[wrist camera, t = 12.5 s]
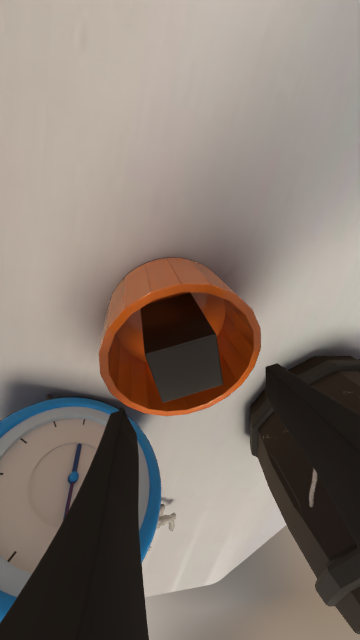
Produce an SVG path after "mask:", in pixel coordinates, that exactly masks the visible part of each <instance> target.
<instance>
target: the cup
mask: <svg viewBox="0 0 360 640" xmlns="http://www.w3.org/2000/svg"><path fill="white" fill-rule="evenodd" d="M187 293H191V294H192V296H193V297H194V299H195V301H196V302H197V304H198V306H199V307H200V309H201V310H202V312H203V314H204V315H205V317H206V319H207V320H208V322H209V323H210V325H211V327H212V328H213V330H214V332H215V333H216V335H217V342H218V349H219V356H220V363H221V370H222V377H223V385H220V386H217V387H214V388H210V389H207V390H204V391H200V392H197V393H194V394H191V395H187V396H184V397H181V398H177V399H174V400H171V401H168V402H164V403H163V402H162V400H161V397H160V395H159V392H158V389H157V387H156V384H155V381H154V379H153V376H152V374H151V371H150V368H149V366H148V363H147V360H146V358H145V353H144V343H143V332H142V321H141V310H140V309H141V308H142V307H144V306H145V305H147V304H150V303H154V302H158V301H161V300H165V299H169V298H172V297H176V296H180V295H183V294H187ZM260 348H261V334H260V326H259V324H258V321H257V319H256V317H255V315H254V312H253V310H252V309H251V308H250V307H249V306H248V305H247V304H246V303H245V302H244V301H243V300H242V299H241V298H240V297H239V296H238V295H237V294H235V293H234V292H233V291H232V290H231V289H230V288H229V287H228V286H227V285H226V284H225V283H224V282H223V281H222V280H221V279H220V278H219V277H217V276H216V275H215V274H214V273H213V272H212V271H211V270H210V269H209V268H207V267H205V266H203V265H201V264H200V263H197V262H195V261H192V260H188V259H183V258H163V259H157V260H154V261H151V262H148V263H145V264H143V265H141V266H139V267H137V268H136V269H134V270H133V271H131V272H130V273H129V274H128V275H127V276H126V277H124V279H123V280H122V281H121V282H120V283H119V284H118V286H117V287H116V289H115V291H114V292H113V294H112V297H111V299H110V303H109V306H108V310H107V313H106V318H105V323H104V329H103V334H102V339H101V344H100V349H99V363H100V374H101V376H102V378H103V380H104V382H105V384H106V386H107V387H108V389H109V391H110V392H111V394H112V395H114V396H115V397H116V398H117V399H118V400H120V401H121V402H122V403H123V404H124V405H126V406H128V407H130V408H133V409H135V410H138V411H140V412H143V413H146V414H153V415H161V416H173V415H183V414H189V413H193V412H196V411H199V410H202V409H205V408H208V407H210V406H212V405H214V404H216V403H218V402H219V401H221V400H223V399H225V398H226V397H228V396H229V395H230V394H231V393H232V392H234V391H235V390H236V389H237V388H238V387H239V386H240V385H242V383H243V382H244V381H245V379H246V378H247V377H248V375H249V374H250V372H251V371H252V370H253V368H254V366H255V364H256V361H257V358H258V355H259V352H260Z"/></svg>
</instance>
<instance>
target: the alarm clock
mask: <svg viewBox="0 0 360 640" xmlns="http://www.w3.org/2000/svg"><path fill="white" fill-rule="evenodd" d="M46 397H47V401H43V402H39V403H36V404H33V405H31V406H28V407H25V408H23V409H21V410H19V411H17V412H15V413H13V414H11V415H10V416H8V417H6V418H5V419H3V420H2V421H0V622H1V621H2V619H3V618H4V616H5V615H6V613H7V612H8V610H9V609H10V607H11V606H12V604H13V603H14V601H15V600H16V598H17V597H18V595H19V594H20V592H21V590H22V589H23V587H24V586H25V584H26V583H27V581H28V579H29V578H30V576H31V575H32V573H33V572H34V570H35V568H36V567H37V565H38V564H39V562H40V560H41V559H42V557H43V555H44V554H45V552H46V550H47V549H48V547H49V545H50V543H51V542H52V540H53V538H54V536H55V535H56V533H57V531H58V529H59V528H60V526H61V524H62V522H63V520H64V518H65V517H66V515H67V513H68V511H69V509H70V507H71V505H72V503H73V501H74V499H75V497H76V495H77V493H78V491H79V489H80V487H81V485H82V483H83V480H84V478H85V476H86V474H87V472H88V470H89V467H90V465H91V463H92V460H93V458H94V455H95V453H96V451H97V448H98V446H99V443H100V441H101V438H102V435H103V433H104V430H105V427H106V424H107V422H108V419H109V416H110V414H111V413H114V412H117V411H120V410H124V408H121V409H120V410H118V409H116V408H115V407H113V406H111V405H108V404H106V403H103V402H100V401H97V400H92V399H87V398H77V397H67V398H57V399H52V397H51V395H50V394H48V395H47V396H46ZM127 417H128V416H127ZM128 419H129V420H130V422H131V424H132V426H133V428H134V430H135V432H136V434H137V442H138V453H139V502H138V517H139V537H140V551H141V563H142V561H143V559H144V557H145V555H146V553H147V551H148V549H149V546H150V544H151V542H152V539H153V536H154V533H155V530H156V526H157V522H158V518H159V512H160V505H161V479H160V472H159V467H158V463H157V460H156V457H155V454H154V451H153V449H152V446H151V445H150V443H149V441H148V439H147V437H146V436H145V434H144V433H143V431H142V430H141V429H140V428H139V426H138V425H137V424H136V423H135V422H134V421H133V420H132V419H131V418H129V417H128Z"/></svg>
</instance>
